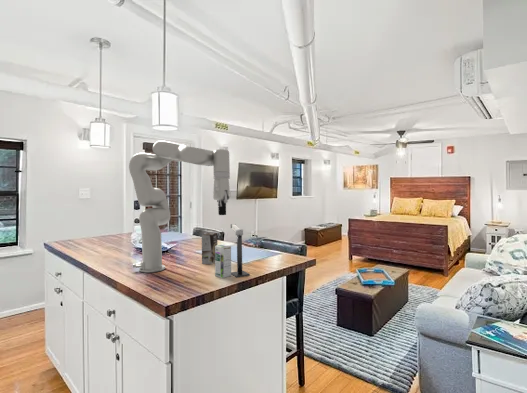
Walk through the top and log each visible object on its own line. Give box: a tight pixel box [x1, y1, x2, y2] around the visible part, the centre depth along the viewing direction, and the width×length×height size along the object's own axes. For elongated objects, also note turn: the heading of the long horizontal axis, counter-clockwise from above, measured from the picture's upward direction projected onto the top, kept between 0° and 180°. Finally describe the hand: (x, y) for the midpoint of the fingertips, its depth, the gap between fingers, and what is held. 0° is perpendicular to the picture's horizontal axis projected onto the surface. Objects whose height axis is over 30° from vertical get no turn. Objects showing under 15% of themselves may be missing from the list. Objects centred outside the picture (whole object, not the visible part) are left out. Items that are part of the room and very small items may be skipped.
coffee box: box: [201, 232, 218, 265], centre depth 178 cm, size 9×6×16 cm
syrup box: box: [214, 244, 232, 279], centre depth 150 cm, size 6×6×14 cm
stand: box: [231, 235, 250, 278], centre depth 151 cm, size 7×7×19 cm
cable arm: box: [230, 223, 244, 236], centre depth 162 cm, size 27×4×2 cm, turn 12°
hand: (222, 214), depth 149 cm, fingers closed
